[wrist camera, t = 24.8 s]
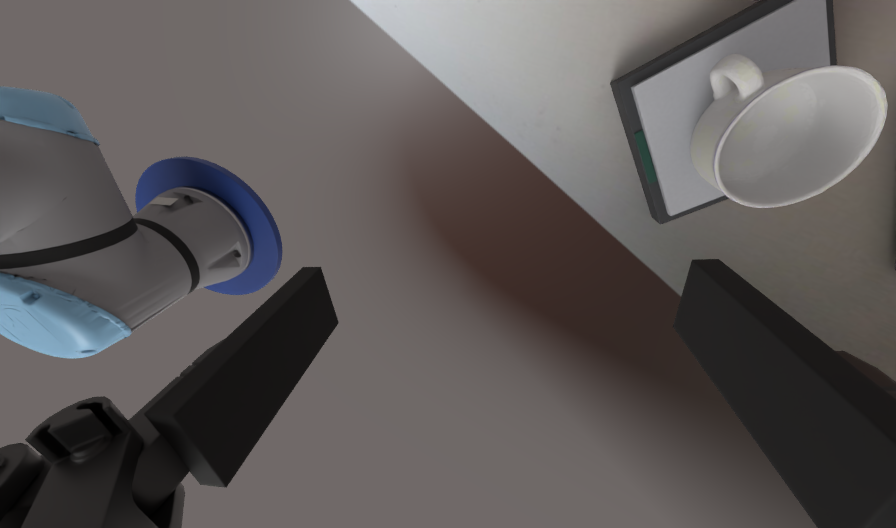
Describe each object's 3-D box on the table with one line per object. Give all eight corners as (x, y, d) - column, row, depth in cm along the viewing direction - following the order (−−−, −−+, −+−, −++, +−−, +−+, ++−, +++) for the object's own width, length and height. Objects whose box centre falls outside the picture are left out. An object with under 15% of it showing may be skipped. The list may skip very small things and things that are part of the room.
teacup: (813, 145, 32) (900, 161, 25) (694, 204, 36) (740, 232, 29) (774, 5, 28) (866, -21, 21) (644, 91, 32) (685, 92, 25)
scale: (651, 217, 41) (663, 227, 38) (609, 83, 35) (619, 82, 32) (821, 150, 35) (850, 156, 32) (806, -25, 29) (840, -37, 26)
